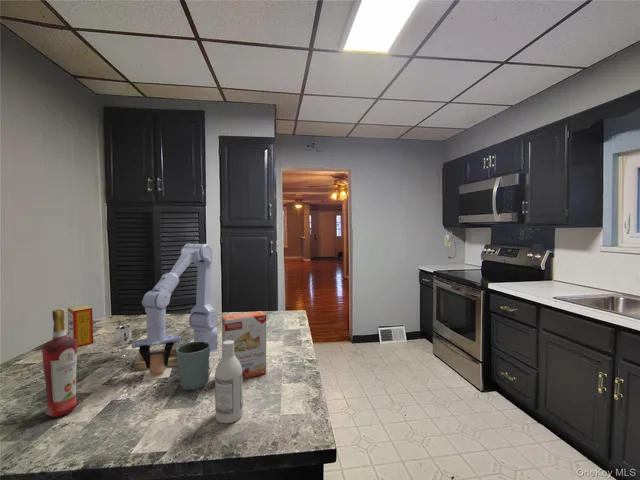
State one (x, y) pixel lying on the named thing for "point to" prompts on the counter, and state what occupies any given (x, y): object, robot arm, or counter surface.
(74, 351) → the liquor
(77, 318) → the baking soda box
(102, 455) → the counter surface
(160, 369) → the pot
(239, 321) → the cracker box
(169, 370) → the tile
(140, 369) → the brown wooden shallow tray
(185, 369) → the green cup
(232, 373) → the bath foam
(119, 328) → the wineglass
